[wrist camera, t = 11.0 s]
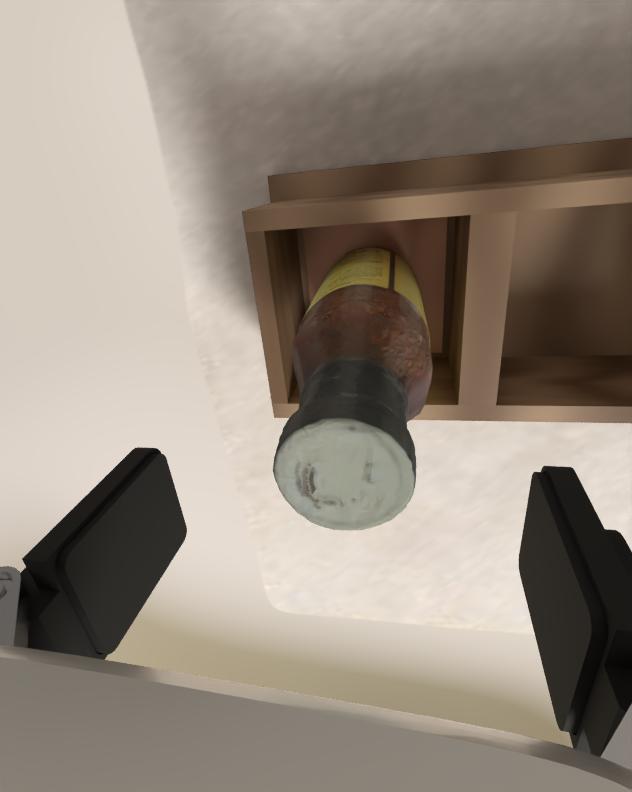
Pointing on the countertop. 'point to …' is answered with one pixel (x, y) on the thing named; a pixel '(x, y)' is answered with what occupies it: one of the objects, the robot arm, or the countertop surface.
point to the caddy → (472, 274)
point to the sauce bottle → (357, 394)
